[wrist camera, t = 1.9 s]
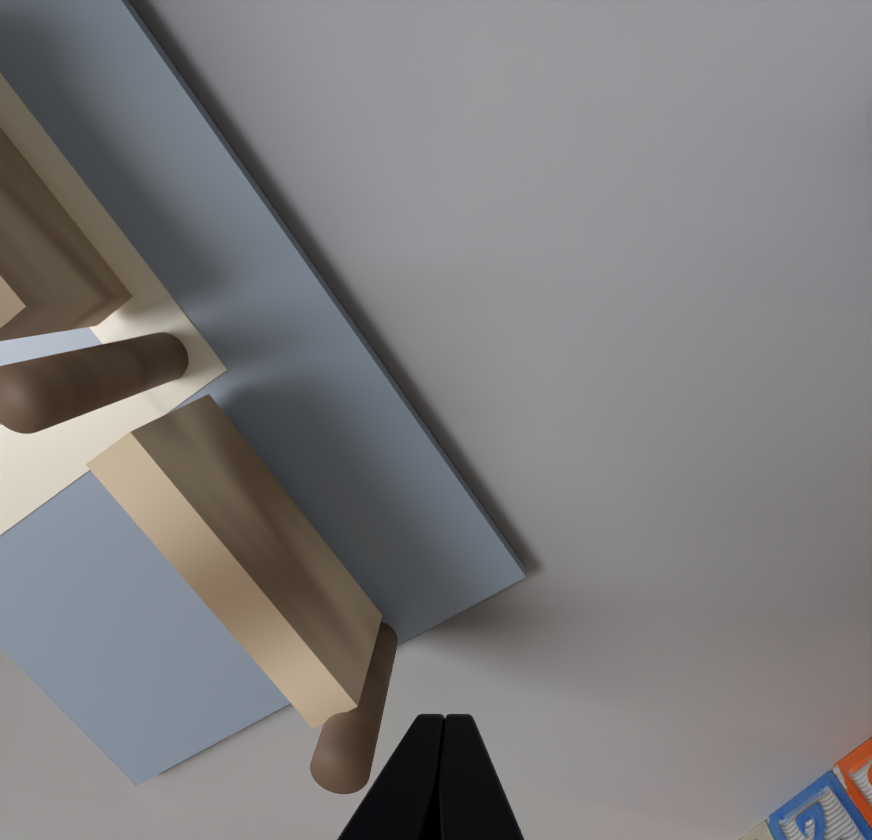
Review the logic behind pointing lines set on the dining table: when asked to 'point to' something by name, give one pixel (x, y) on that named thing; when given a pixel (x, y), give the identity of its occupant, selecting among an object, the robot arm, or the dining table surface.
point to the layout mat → (206, 374)
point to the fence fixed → (63, 311)
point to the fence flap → (261, 576)
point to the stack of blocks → (827, 805)
